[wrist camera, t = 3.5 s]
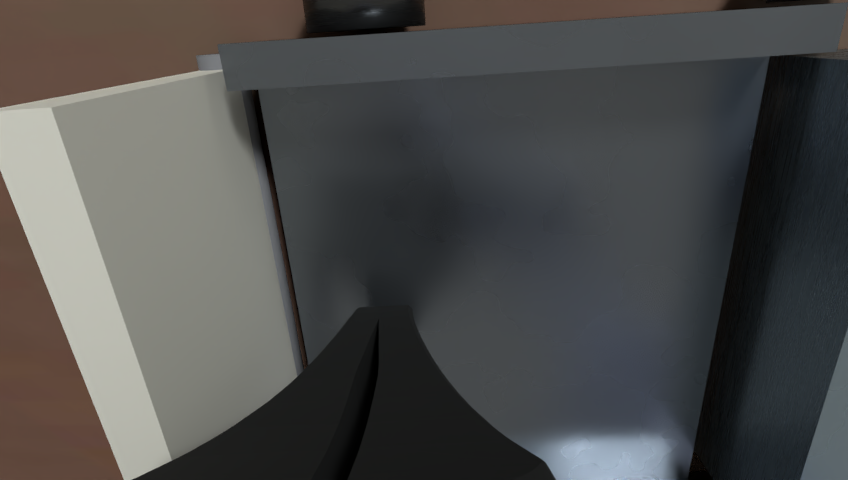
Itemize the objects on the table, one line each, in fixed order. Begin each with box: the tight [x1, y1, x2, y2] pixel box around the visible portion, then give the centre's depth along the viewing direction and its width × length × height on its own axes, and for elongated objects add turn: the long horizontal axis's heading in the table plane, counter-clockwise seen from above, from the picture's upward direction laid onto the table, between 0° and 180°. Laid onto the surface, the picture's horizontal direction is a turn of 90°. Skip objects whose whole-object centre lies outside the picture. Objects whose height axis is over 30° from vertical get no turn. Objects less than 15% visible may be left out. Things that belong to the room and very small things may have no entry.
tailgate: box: [0, 54, 304, 480], centre depth 11 cm, size 14×1×7 cm, turn 3°
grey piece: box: [218, 0, 848, 480], centre depth 12 cm, size 16×16×4 cm
